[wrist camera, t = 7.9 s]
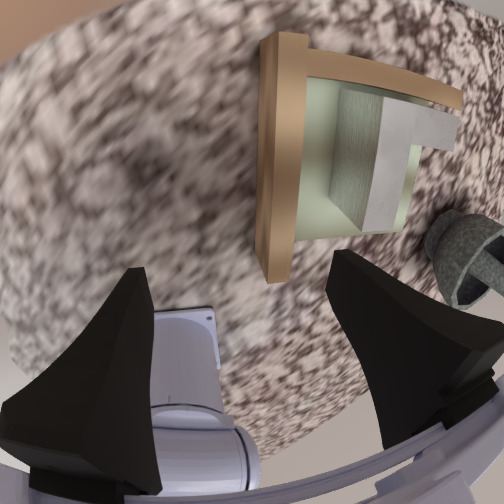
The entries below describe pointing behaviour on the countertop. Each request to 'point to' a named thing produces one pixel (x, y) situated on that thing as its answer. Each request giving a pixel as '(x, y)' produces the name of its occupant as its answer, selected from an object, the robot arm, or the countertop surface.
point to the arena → (316, 141)
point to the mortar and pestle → (466, 257)
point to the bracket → (380, 153)
